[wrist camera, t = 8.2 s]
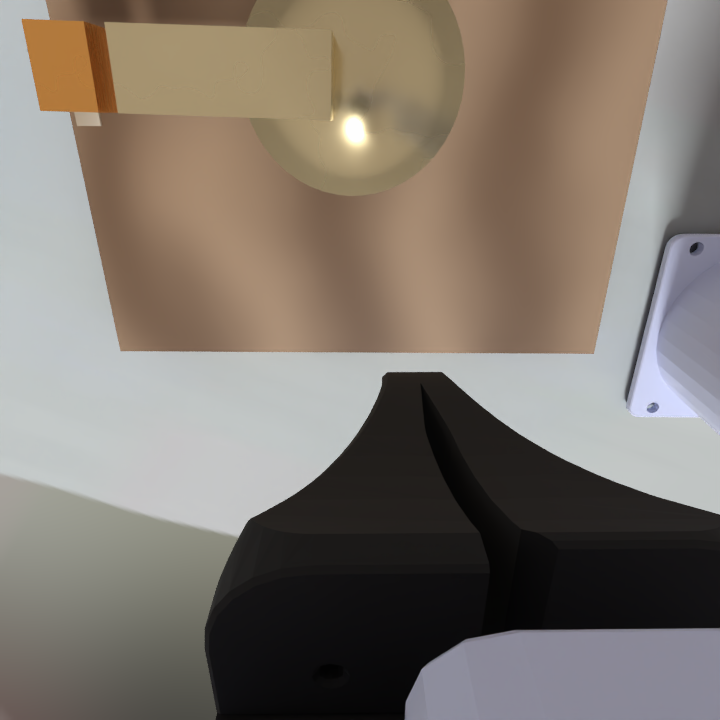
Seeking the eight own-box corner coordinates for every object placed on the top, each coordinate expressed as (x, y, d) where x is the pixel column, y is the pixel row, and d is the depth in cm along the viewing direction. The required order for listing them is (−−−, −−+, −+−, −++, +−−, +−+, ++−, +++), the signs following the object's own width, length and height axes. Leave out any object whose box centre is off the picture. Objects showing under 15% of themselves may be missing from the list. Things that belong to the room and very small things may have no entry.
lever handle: (469, -43, 14) (487, -70, 12) (446, 193, 16) (457, 205, 14) (53, -57, 14) (0, -86, 12) (94, 181, 16) (57, 191, 14)
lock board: (705, -308, 14) (802, -430, 11) (580, 339, 22) (615, 376, 19) (9, -301, 14) (-92, -418, 11) (135, 336, 23) (97, 373, 19)
